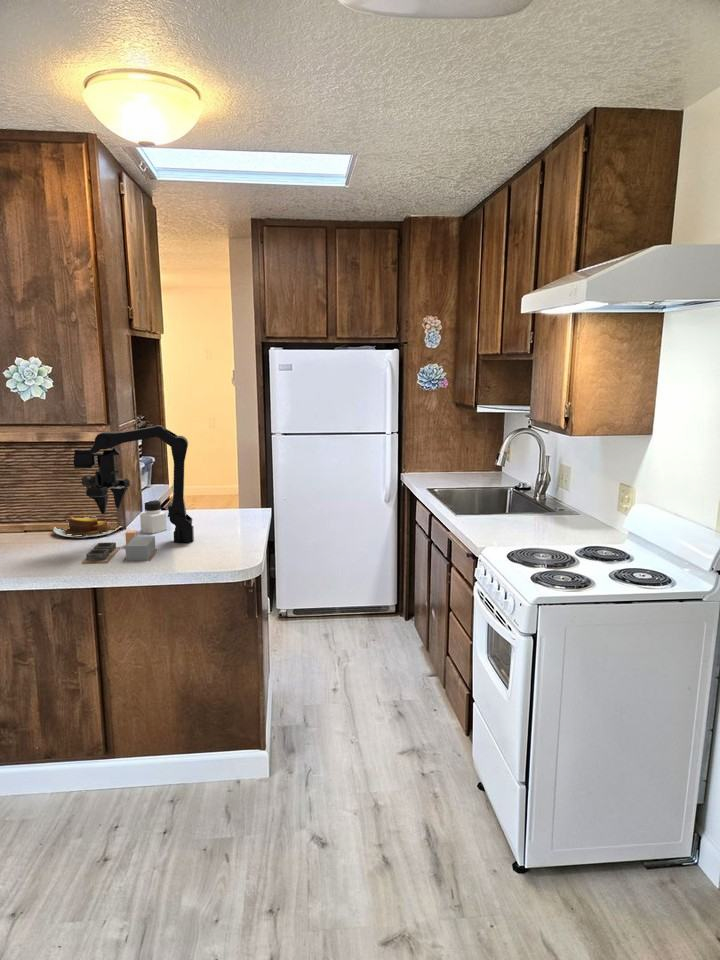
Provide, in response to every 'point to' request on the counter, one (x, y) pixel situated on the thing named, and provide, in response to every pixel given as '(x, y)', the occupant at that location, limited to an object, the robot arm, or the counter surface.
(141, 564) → the counter surface
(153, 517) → the medicine bottle
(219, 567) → the counter surface
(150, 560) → the plate
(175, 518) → the robot arm
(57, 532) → the food on plate
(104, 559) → the socket board
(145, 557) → the housing
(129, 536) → the tan rectangular block
